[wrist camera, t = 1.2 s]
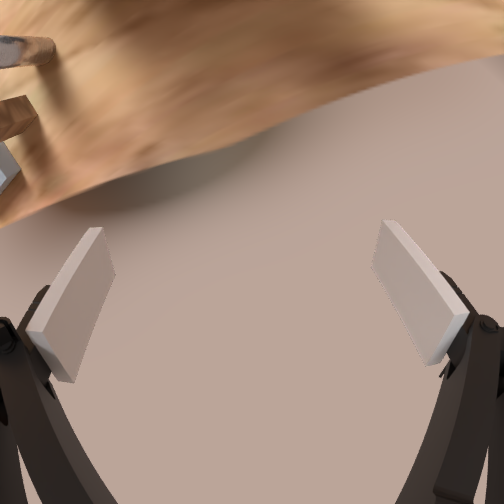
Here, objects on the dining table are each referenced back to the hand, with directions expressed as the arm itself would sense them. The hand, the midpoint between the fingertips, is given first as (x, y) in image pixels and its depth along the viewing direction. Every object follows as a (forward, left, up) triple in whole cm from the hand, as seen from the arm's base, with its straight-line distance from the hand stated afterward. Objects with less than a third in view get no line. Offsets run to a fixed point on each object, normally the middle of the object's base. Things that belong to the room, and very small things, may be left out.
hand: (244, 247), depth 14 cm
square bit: (-21, -23, -27) cm, 41 cm away
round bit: (-26, -15, -27) cm, 40 cm away
